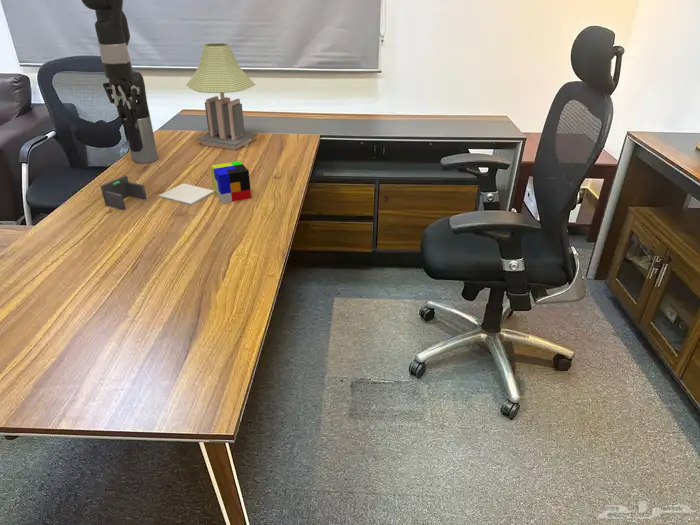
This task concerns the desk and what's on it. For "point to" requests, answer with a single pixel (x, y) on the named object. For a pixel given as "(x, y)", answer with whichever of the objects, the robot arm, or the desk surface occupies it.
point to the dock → (121, 192)
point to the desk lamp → (222, 96)
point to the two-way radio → (132, 133)
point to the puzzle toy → (231, 182)
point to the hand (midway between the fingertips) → (129, 119)
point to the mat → (186, 194)
